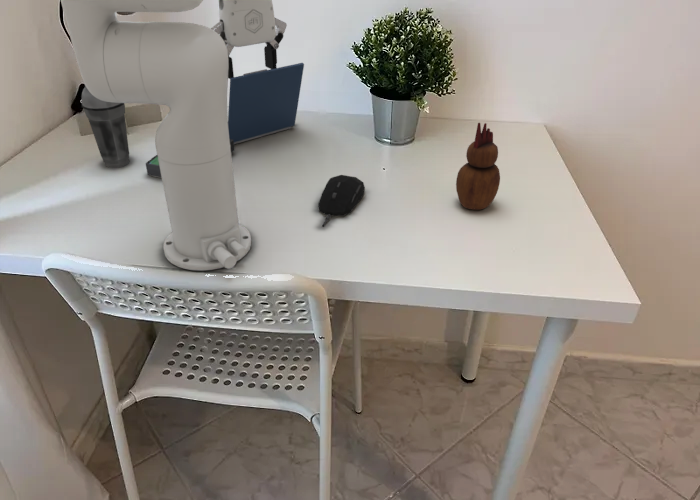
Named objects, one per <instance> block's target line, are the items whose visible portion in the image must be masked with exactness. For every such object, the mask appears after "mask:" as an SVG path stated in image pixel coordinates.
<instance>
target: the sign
mask: <svg viewBox="0 0 700 500" xmlns="http://www.w3.org/2000/svg"><path fill="white" fill-rule="evenodd" d="M304 69H305V64H304V63H303V62H299V63H293V64H290V65H285V66H279V67H277V68H275V69H270V68H269V69H267V68H266V69H260V70H255V71H251V72H246V73H243V74H242V75H238V76H234V77H233V78H230V79H229V92H228V93H229V94H228V110H227V116H228V130H229V139H233V141H234V145H237V144H240V143H244V142H249V141H252V140H255V139H259V138H262V137H265V136H269V135H272V134H276V133H279V132H283V131H286V130H290V129H291V128H292V127H294V126H295V125H296V119H297V113H298V107H299V101H300V100H299V99H300V94H301V88H302V81H303V76H304V75H303V73H304Z"/></svg>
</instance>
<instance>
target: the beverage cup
mask: <svg viewBox="0 0 700 500" xmlns="http://www.w3.org/2000/svg"><path fill="white" fill-rule="evenodd" d="M81 108H82V109H83V113H84V114H85V116H86V118H87V119H88V123H89V125H90V128H91V131H92V134H93V137H94V140H95V143H96V145H97V149H98V151H99V154H100V157H101V159H102V161H103V164H104V166H105V167H106V168H110V169H118V168H122V167H125V166H127V165H129V164H130V162H131V161H130V149H129V148H130V147H129V141H128V133H127V132H128V131H127V123H126V116H125V113H126V103H114V102H106V101H102V100H99V99H97V98H96V97H94V96H93V95H92V94H91V93H90V92H89V91H88V89H87V88H86V86H85V85H84V88H83V89H82V92H81Z"/></svg>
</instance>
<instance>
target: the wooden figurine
mask: <svg viewBox="0 0 700 500" xmlns="http://www.w3.org/2000/svg"><path fill="white" fill-rule="evenodd" d="M487 124H488V123H486V122H485V123H484V124H483V127H481V122H478V123H477V127H476V132H475V136H474V141H472V142H471V143H470V144H469V145H468V147H467V148H466V153H465V154H466V155H465V156H466V161H467V162H465V164H463V165H462V166H461V167H460V168H459V170H458V172H457V175H456V181H455V182H456V184H455V189H456V194H457V198H458V201H459V203H460V204H461V205H462V207H464V208H465V209H467V210H472V211H477V210H478V211H480V210H485V209H487V208H488V207H490V205H491V204H492V202H494V200H495V197H496V196H497V194H498V190H499V188H500V183H501V174H500V169H499V167H498V165H496V163H497V160H498V158H499V147H498V145H497V144H495V143H494V131H491V129H490V128H489V127H488V128H487Z"/></svg>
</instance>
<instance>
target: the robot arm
mask: <svg viewBox="0 0 700 500" xmlns="http://www.w3.org/2000/svg"><path fill="white" fill-rule="evenodd" d="M203 1H204V0H60V2H61V3H60V4H61V7H62V11H63V15H64V19H65V22H66V26H67V30H68V34H69V38H70V42H71V45H72V50H73V53H74V56H75V60H76V64H77V68H78V72H79V74H80V76H81V79H82V81H83V84H84V87H85V86H86V88H87V89H88V91H89V92H90V93H91V94H92V95H93V96H94V97H96V98H97V99H99V100H102V101H106V102H114V103H124V104H140V105H141V104H142V105H143V104H144V105H160V106H161V105H162V106H167V107H168V108H169V112H168V113H167V114H166V115H165V116H164V118H163V119H162V120H161V122H160V123H159V125H158V127H157V129H156V132H155V137H154V143H155V150H156V155H158V161H159V166H160V171H161V177H162V178H161V182H162V186H163V187H162V188H163V192H164V197H165V203H166V209H167V214H168V219H169V224H170V229H171V232H170V233H169V234H168V235H167V236H166V237H165V239H164V241H163V245H162V246H163V252H164V256H165V258H166V259H167V261H168V262H169V263H171V264H172V265H174V266H176V267H178V268H181V269H184V270H190V271H202V272H203V271H212V270H218V269H222V268H225V269H226V270H227V269H228V270H229V269H232V268H234V267H235V266H236V264H237V262H238V261H240V260H242V259H243V258H244V257H245V256H246V255H247V254H248V252H249V251H250V249H251V246H252V236H251V232H250V231H249V229H248V228H247V227H246V226H244V225H242V224H241V223H240V221H239V213H238V203H237V196H236V186H235V176H234V169H233V167H234V166H233V160H232V153H231V148H230V140H229V130H228V86H229V85H228V84H229V80H230V78H233V77H235V75H234V64H233V57H231V56H230V55H231V54H232V51H233V50H234V48H243V47H247V46H253V45H260V44H265V46H264V49H263V50H264V51H263V52H264V67H266V69H267V68H268V69H269V70H270V69H275V68H278V67H277V64H278V52H277V50H278V49H279V48H280V43H281V41H282V40H283V39H284V34H285V31H286V29H287V26H288V25H287V23H286V22H285V21H283V20H281V19H279V18H277V17H276V16H275V11H274V4H273V0H217V23H216V24H214V25H213V26H212V27H208V26H205V25H203V24H198V23H194V22H180V21H179V22H177V21H175V22H174V21H173V22H172V21H118V15H117V14H118V13H182V12H188V11H192V10H195V9H196V8H197V7H199V6H200V5H201V4H202V3H203Z"/></svg>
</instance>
